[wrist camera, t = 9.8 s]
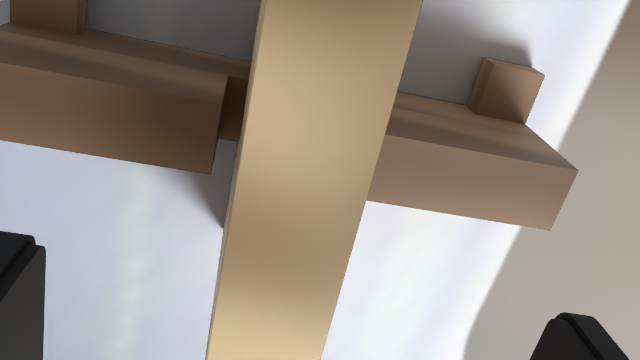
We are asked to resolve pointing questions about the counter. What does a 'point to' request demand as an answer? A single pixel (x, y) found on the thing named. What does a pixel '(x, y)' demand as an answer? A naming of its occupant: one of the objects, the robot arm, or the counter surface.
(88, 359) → the counter surface
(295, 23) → the oak slotted plate
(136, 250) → the counter surface
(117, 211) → the counter surface
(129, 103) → the walnut notched block
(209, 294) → the counter surface
